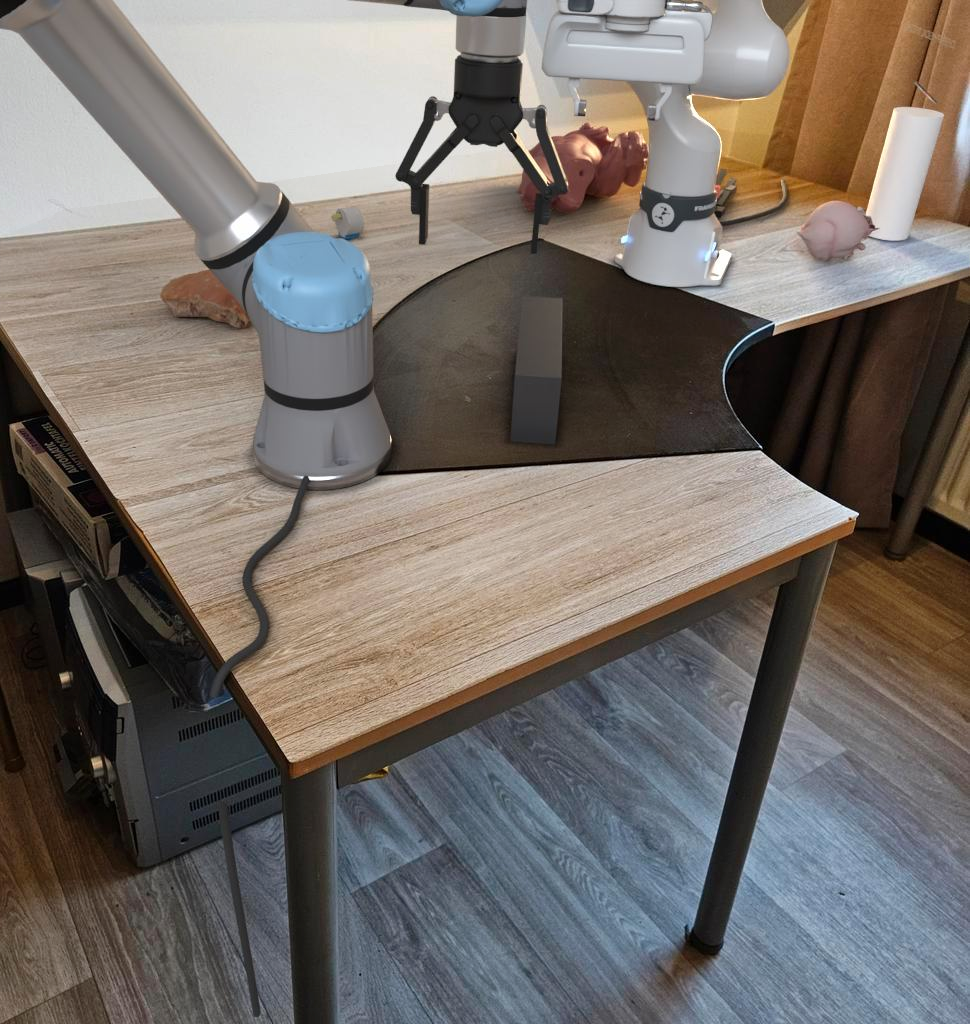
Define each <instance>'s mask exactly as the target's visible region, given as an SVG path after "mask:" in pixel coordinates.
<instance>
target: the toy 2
mask: <svg viewBox="0 0 970 1024" xmlns="http://www.w3.org/2000/svg"><path fill="white" fill-rule="evenodd" d="M866 211H867V209H866V210H865V209H864V208H862V206H856V207H855V206H854V205H852V204H851V203H848V202H846V201H841V200H830V201H826V202H824V203H822V204H821V205H819V206H817V207H816V208H815V209H814V210H813V211H812V212H811V213H810V214H809V216H808V218H807V219H806V220H805V222H804V223H801V229H800V231H796V234H797V235H798V236H799V237H800V238H801V240H802V241H803V243H804V245H805V246H806V247H807V251H808V253H809V254H810V255H811V256H812V257H813V258H814V259H816V260H821V261H825V262H826V261H828V260H830V258H831V259H842V260H844V258H845V257H846V259H849V258H851V257H853V255H854V252H855V250H859V251H864V250H865V249H867V248H866V245H865V244H864V243H863V242H864V241H866V240H867V239H868V237H869V236H868V235H870V234H871V233H872V231H875V230H878V229H880V228H875V225H873V222H872V219H871V216H867V215H866Z"/></svg>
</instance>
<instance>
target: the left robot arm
mask: <svg viewBox="0 0 970 1024" xmlns="http://www.w3.org/2000/svg"><path fill="white" fill-rule="evenodd" d="M348 1H349V2H350V1H351V2H362V3H372V4H383V5H392V6H393V5H394V6H402V7H403V6H404V7H406V8H407V7H408V8H417V9H418V8H419V9H428V10H429V9H430V10H438V11H447V12H449V13H450V14H451V15H454V16H455V18H456V19H455V20H456V21H455V25H456V26H455V50H456V51H457V52H458V53H460V54H459V55H457V56H456V58H455V59H454V72H453V74H454V75H453V97H452V100H451V101H450V102H449V101H445V100H440V99H438V98H437V97H436V96H434V95H432V96H429V98H428V99H427V100H426V102H425V104H424V111H423V119H422V122H421V124H420V125H419V128H418V129H417V132H416V133H415V136H414V137H413V139H412V141H411V143H410V145H409V147H408V149H407V151H406V153H405V155H404V156H403V159H402V161H401V163H400V165H399V167H398V169H397V170H396V173H395V179H396V181H397V182H400V183H405V184H407V185H408V186H409V187H410V212H411V215H415V216H416V215H417V216H418V217H419V220H418V223H419V224H418V245H423V246H424V245H426V243H427V241H428V237H429V206H430V204H429V203H430V184H429V183H425V182H426V181H427V180H428V178H429V177H430V176H431V175H432V174H433V172H435V171H436V170H437V168H438V167H440V165H441V164H442V163H443V162H444V161H445V159H447V158H448V156H449V155H450V154H452V152H453V151H454V150H455V149H456V148H457V147H458V145H460V144H461V143H462V142H463V140H464V141H465V142H466V143H468V144H469V145H470V146H481V145H485V146H488V147H493V148H498V146H501V145H503V144H504V145H505V147H506V148H507V149H508V151H509V152H510V153H511V154H512V155H513V157H514V158H515V159H516V161H517V162H518V164H519V166H520V167H521V168H522V170H524V171H525V172H526V174H527V175H528V177H529V178H530V179H531V181H532V182H533V184H534V185H535V187H536V188H537V190H538V191H539V192H540V193H536V197H535V208H534V212H533V221H532V223H533V224H532V232H531V242H530V243H531V244H530V246H531V247H530V254H531V255H537V254H538V246H539V245H538V244H539V235H540V234H539V233H540V226H549V223H550V220H551V211H552V210H551V201H552V198H553V197H555V196H557V195H560V194H561V195H564V194H566V193H567V192H568V181H567V179H566V176H565V173H564V171H563V168H562V165H561V162H560V160H559V157H558V154H557V152H556V149H555V146H554V143H553V141H552V138H551V137H552V136H551V133H550V130H549V127H548V110H547V106H545V105H544V104H539V105H538V106H537V107H523V106H522V101H521V94H522V93H521V92H522V81H523V69H524V68H523V66H524V64H523V62H522V60H521V59H520V58H519V57H521V56H522V55H523V54H524V50H525V38H526V26H527V7H528V5H527V4H528V0H348ZM0 29H1V30H6V31H11V32H14V33H16V34H18V35H19V36H20V37H21V38H22V39H23V41H24V42H25V43H26V44H27V45H28V47H30V49H31V50H32V51H33V52H34V53H35V54H36V55H37V56H38V57H39V59H40V60H41V61H42V62H43V63H44V65H46V66H47V68H48V69H49V70H50V71H51V72H52V73H53V75H55V77H56V78H57V79H58V80H59V81H60V83H62V84H63V86H64V87H65V88H66V89H67V90H68V91H69V93H70V94H71V95H72V96H73V97H74V98H75V99H76V100H77V102H79V104H80V105H81V106H82V107H83V108H84V110H85V111H86V112H87V113H88V114H89V115H90V116H91V117H92V119H94V121H95V122H96V124H98V125H99V126H100V127H101V129H102V130H103V131H104V132H105V133H106V134H107V135H108V137H110V139H111V140H112V141H113V142H114V143H115V145H117V146H118V148H119V149H120V150H121V151H122V153H124V155H125V156H126V158H128V159H129V160H130V161H131V162H132V163H133V164H134V166H135V167H136V168H137V170H139V171H140V172H141V174H142V175H143V176H144V177H145V178H146V179H147V181H148V182H149V183H150V184H151V185H152V186H153V187H154V189H156V191H157V192H158V193H159V194H160V195H161V196H162V197H163V199H164V200H165V201H166V203H168V204H169V205H170V206H171V208H172V209H173V210H174V212H176V213H177V214H178V215H179V217H180V218H181V219H182V220H183V221H184V222H185V223H186V224H187V226H189V228H190V229H191V230H192V231H193V232H194V244H193V245H194V246H193V248H194V249H193V251H194V254H195V255H196V257H197V258H198V259H199V261H201V262H202V263H203V265H205V267H206V268H207V270H210V271H211V272H212V273H213V274H214V275H215V276H216V278H217V279H218V280H219V281H220V282H221V283H222V284H223V285H224V287H225V288H226V289H227V290H228V291H229V292H230V293H231V294H232V296H233V297H234V298H235V299H236V300H237V302H238V303H239V304H240V305H241V307H242V308H243V310H244V311H245V313H246V314H247V316H248V318H249V320H250V321H249V322H250V323H251V324H252V326H253V327H254V329H255V330H256V332H257V335H258V340H259V348H260V357H261V358H260V359H261V369H262V378H263V388H264V390H263V391H264V396H263V400H262V404H261V408H260V412H259V415H258V419H257V423H256V427H255V430H254V434H253V439H252V455H253V460H254V464H255V467H256V468H257V470H258V471H259V472H260V473H261V474H262V475H263V476H265V477H266V478H268V479H269V480H271V481H273V482H275V483H278V484H280V485H283V486H286V487H290V488H295V489H298V490H297V492H296V494H295V497H294V500H293V501H294V502H293V504H292V507H291V510H290V514H289V516H288V518H287V520H286V522H285V523H284V525H283V526H282V527H281V528H280V529H279V530H278V532H277V533H275V534H274V535H273V537H271V538H270V539H268V540H267V541H266V542H265V543H264V544H263V545H262V546H260V547H259V548H257V550H255V552H254V553H253V554H252V555H251V557H250V558H249V559H248V561H247V563H246V565H245V567H244V569H243V572H242V586H243V590H244V592H245V594H246V596H247V599H248V600H249V602H250V603H251V606H252V607H253V608H254V610H255V612H256V614H257V616H258V621H259V630H258V635H257V636H256V637H255V639H254V640H253V641H252V642H251V643H249V644H248V645H246V646H245V647H244V648H242V649H241V650H239V651H238V652H235V653H234V654H233V655H232V656H231V657H229V658H228V659H227V660H226V661H225V662H224V663H223V664H222V665H221V666H220V668H219V670H218V671H217V673H216V675H215V677H214V679H213V681H212V685H211V688H210V691H209V697H210V698H212V699H214V698H215V699H216V698H218V696H220V693H221V691H222V688H223V685H224V682H225V680H226V678H227V677H228V675H229V674H230V673H231V672H232V670H233V669H234V668H235V667H236V666H237V665H239V664H240V663H241V662H243V661H244V660H246V659H247V658H249V657H250V656H251V655H253V654H255V653H256V652H257V651H259V650H260V649H261V648H262V647H263V645H264V643H265V642H266V640H267V637H269V631H270V619H269V615H268V613H267V610H266V608H265V607H264V604H263V602H262V601H261V599H260V598H259V597H258V594H257V593H256V591H255V589H254V587H253V583H252V575H253V571H254V568H255V567H256V565H257V564H258V563H259V561H261V559H262V558H263V557H264V556H265V555H266V554H267V553H268V552H270V551H271V550H272V549H273V548H274V547H275V546H277V545H278V544H279V543H280V542H282V540H283V539H285V538H286V536H287V535H288V534H289V532H290V531H291V530H292V528H293V527H294V526H295V523H296V522H297V519H298V516H299V513H300V510H301V506H302V503H303V500H304V497H305V494H306V492H307V490H312V491H314V490H315V491H323V490H327V491H328V490H337V489H342V488H348V487H351V486H355V485H358V484H361V483H363V482H366V481H368V480H370V479H373V478H374V477H375V476H377V475H378V474H380V473H381V472H382V471H383V470H384V469H385V468H386V467H387V466H388V464H389V463H390V461H391V458H392V437H391V432H390V430H389V427H388V424H387V422H386V419H385V417H384V413H383V411H382V408H381V406H380V403H379V400H378V398H377V395H376V393H375V385H374V335H373V334H374V331H373V330H374V329H373V328H374V326H373V323H374V322H373V301H374V293H375V292H374V291H375V290H374V286H373V284H374V283H373V280H372V277H371V276H372V275H371V266H370V263H369V260H368V258H367V257H366V255H365V254H364V252H363V251H362V250H361V249H360V248H359V247H358V246H356V245H355V244H354V243H353V242H351V241H349V240H348V239H344V238H342V237H339V238H335V236H334V235H332V234H329V233H324V232H316V231H314V229H313V228H312V227H311V225H309V223H308V222H307V221H306V220H305V219H304V217H303V216H302V215H301V213H300V212H299V211H298V210H297V208H296V207H295V206H294V204H293V203H292V202H291V201H290V199H289V198H288V197H287V196H286V195H285V193H284V192H283V191H282V190H281V188H280V186H278V185H277V184H275V183H272V182H263V181H257V180H256V179H255V178H254V176H253V175H252V174H251V172H250V171H249V170H248V169H247V167H246V166H245V165H244V164H243V162H242V161H241V160H240V159H239V158H238V156H237V155H236V153H235V152H234V150H232V148H231V147H230V146H229V145H228V143H226V141H225V140H224V139H223V136H221V135H220V134H219V132H218V131H217V130H216V128H215V127H214V126H213V124H212V123H211V122H210V121H209V119H208V118H207V117H206V116H205V114H204V113H203V112H202V111H201V110H200V108H199V106H197V104H196V103H195V102H194V101H193V99H192V98H191V97H190V95H189V94H188V93H187V91H186V90H185V89H184V88H183V87H182V85H181V84H180V83H179V82H178V81H177V79H176V78H175V76H174V75H173V74H172V73H171V72H170V70H169V69H168V68H167V66H166V65H165V64H164V63H163V61H162V60H161V59H160V58H159V57H158V56H157V54H156V53H155V51H154V50H153V49H152V47H151V46H150V45H149V44H148V43H147V41H146V40H145V39H144V38H143V36H142V35H141V34H140V32H139V31H138V30H137V29H136V27H135V26H134V25H133V24H132V22H131V21H130V20H129V19H128V18H127V16H126V15H125V13H124V12H123V11H122V9H121V8H120V7H119V6H118V4H117V3H116V2H115V1H114V0H0ZM445 114H448V115H449V117H450V119H451V121H452V122H453V124H454V125H455V128H454V129H453V130H452V132H451V133H450V134H449V135H448V136H447V138H446V139H445V140H444V141H443V142H442V143H441V144H440V145H439V146H438V148H437V149H435V151H434V152H433V153H432V154H431V155H430V156H429V158H427V160H426V161H425V162H424V163H423V164H422V166H421V167H420V168H418V170H417V171H413V170H412V167H413V166H414V163H415V161H416V159H417V158H418V155H419V154H420V151H421V150H422V147H423V146H424V144H425V142H426V140H427V139H428V136H429V134H430V132H431V130H432V129H433V126H434V124H435V122H438V121H439V122H440V121H441V120H442V118H443V117H444V115H445ZM523 120H526V121H527V123H528V126H529V127H530V128H531V129H535V132H536V136H537V140H538V143H539V142H540V145H541V148H542V150H543V153H544V156H545V158H546V161H547V164H548V166H549V169H550V172H551V174H552V177H553V180H554V183H550V182H549V181H548V180H547V178H546V177H545V175H544V174H543V172H542V171H541V169H540V168H539V166H538V165H537V164H536V162H535V161H534V159H533V158H532V156H531V155H530V153H529V152H528V149H527V147H526V145H525V144H524V143H523V142H522V139H521V138H520V136H519V134H518V133H517V132H516V129H517V128H518V126H519V125H520V123H522V121H523ZM217 807H218V815H219V821H220V822H219V823H220V829H221V830H220V831H221V836H222V843H223V844H222V845H223V850H224V857H225V863H226V869H227V875H228V881H229V886H230V893H231V897H232V901H233V902H232V903H233V904H232V905H233V910H234V915H235V919H236V925H237V930H238V935H239V941H240V946H241V947H240V948H241V952H242V958H243V963H244V968H245V974H246V980H247V985H248V986H247V987H248V992H249V997H250V1004H251V1010H252V1015H253V1017H254V1018H259V1017H260V1016H261V1013H262V1012H261V1005H260V998H259V991H258V986H257V980H256V973H255V967H254V961H253V956H252V955H253V954H252V951H251V944H250V939H249V938H250V937H249V933H248V928H247V923H246V915H245V911H244V905H243V899H242V893H241V887H240V881H239V875H238V868H237V863H236V862H237V861H236V857H235V849H234V843H233V835H232V827H231V819H230V811H229V803H226V802H223V801H220V800H217Z"/></svg>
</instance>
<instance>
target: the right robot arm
mask: <svg viewBox="0 0 970 1024" xmlns="http://www.w3.org/2000/svg"><path fill="white" fill-rule="evenodd" d="M556 8H557V9H558V10H557V11H556V12H554V13H553V15H552V17H551V19H550V20H549V23H548V27H547V31H546V35H545V40H544V45H543V49H542V50H543V51H542V58H541V70H542V72H543V73H544V75H545V76H546V77H549V78H550V77H551V78H567V80H568V81H567V88H568V91H569V93H570V95H571V97H572V100H573V102H574V106H573V107H574V109H573V116H574V117H586V114H587V113H586V109H587V99H581V98H580V95H579V93H578V91H577V89H578V88H579V87H580V79H583V80H584V79H585V80H598V81H599V80H601V81H616V82H625V83H626V84H628V86H629V87H630V88H631V89H632V90H633V92H634V93H635V95H636V97H637V98H638V100H639V102H640V104H641V107H642V109H643V112H644V114H645V118H646V122H647V128H648V129H647V130H648V158H647V164H646V174H645V181H644V182H643V183H642V185H641V190H640V193H639V209H638V210H637V211H635V212H633V214H631V215H630V217H629V221H628V225H627V229H626V230H627V231H626V235H624V236H622V237H621V240H620V243H621V244H624V246H623V251H622V252H620V253H617V254H615V256H614V262H615V264H617V265H619V266H620V267H621V268H622V269H623V270H624V272H625V273H626V274H627V275H628V276H630V277H631V278H633V279H635V280H637V281H640V282H643V283H646V284H650V285H656V286H660V287H670V288H689V287H690V288H691V287H697V286H708V287H709V286H711V287H712V286H714V287H715V286H721V284H722V282H723V279H724V277H725V275H726V272H727V270H728V269H729V266H730V263H731V261H732V253H730V252H729V251H726V250H724V249H722V248H721V244H722V238H723V232H724V227H726V226H732V225H733V226H734V225H737V224H741V223H746V222H750V221H753V220H757V219H760V218H763V217H766V216H769V215H772V214H774V213H776V212H778V211H780V209H782V208H783V207H784V206H785V204H786V202H787V200H788V188H787V183H786V179H784V178H782V179H780V186H781V193H782V198H781V200H780V202H778V204H776V205H774V206H773V207H771V208H769V209H766V210H763V211H760V212H757V213H753V214H750V215H746V216H741V217H737V218H733V219H728V220H722V221H720V220H719V218H717V217H716V216H715V214H714V212H715V210H716V203H717V198H718V197H719V194H720V193H719V192H720V191H721V189H722V188H721V185H720V186H719V185H715V184H716V178H717V175H718V173H719V166H720V161H721V154H722V149H723V145H722V140H721V136H720V135H719V133H718V132H717V129H715V127H713V125H711V124H710V123H709V122H707V121H706V120H705V119H703V118H702V117H701V116H699V115H698V113H697V112H696V110H695V108H694V106H693V102H692V96H698V97H705V98H715V99H720V100H727V101H728V100H729V101H747V100H748V101H749V100H758V99H766V98H768V97H769V96H770V95H771V94H772V93H774V92H775V90H777V89H778V88H779V86H780V85H781V83H782V81H784V78H785V77H786V74H787V71H788V68H789V62H790V46H789V42H788V39H787V36H786V34H785V32H784V31H783V29H782V28H781V27H780V26H779V25H778V24H776V23H775V22H774V21H773V20H772V19H771V17H770V16H769V14H768V13H767V11H766V10H765V7H764V3H763V0H691V1H688V0H556Z"/></svg>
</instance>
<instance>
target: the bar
mask: <svg viewBox="0 0 970 1024" xmlns="http://www.w3.org/2000/svg"><path fill="white" fill-rule="evenodd" d="M519 316H520V317H519V326H518V337H517V348H516V357H515V367H514V380H513V392H512V393H513V394H512V410H511V423H510V439H509V441H510V443H522V444H523V443H524V444H534V445H535V444H537V445H551V446H556V441H557V431H558V422H559V421H558V419H559V411H560V403H561V401H560V400H561V390H562V382H563V381H562V380H563V297H561V298H560V297H546V296H531V295H522V297H521V306H520V315H519Z"/></svg>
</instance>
